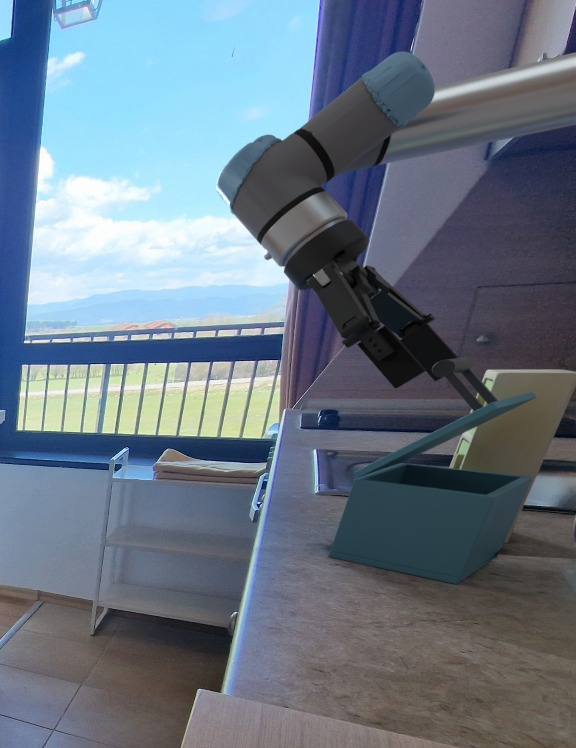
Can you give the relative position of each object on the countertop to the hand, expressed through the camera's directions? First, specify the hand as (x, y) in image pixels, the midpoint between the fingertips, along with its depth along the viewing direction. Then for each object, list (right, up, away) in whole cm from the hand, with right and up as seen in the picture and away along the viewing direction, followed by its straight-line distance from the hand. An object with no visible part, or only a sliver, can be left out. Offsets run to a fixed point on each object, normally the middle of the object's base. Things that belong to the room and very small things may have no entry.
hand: (431, 376), depth 72 cm
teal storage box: (+3, -21, +5) cm, 21 cm away
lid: (+2, -7, 0) cm, 7 cm away
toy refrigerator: (+15, -18, +11) cm, 26 cm away
